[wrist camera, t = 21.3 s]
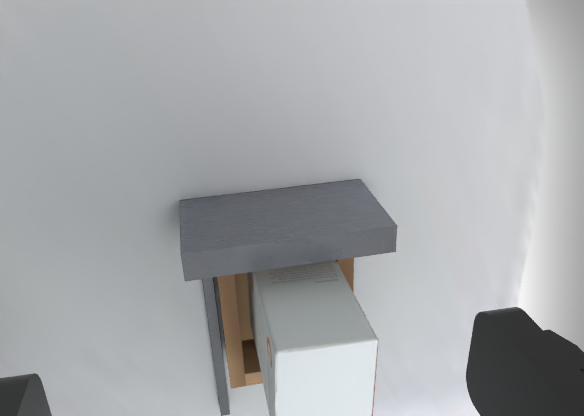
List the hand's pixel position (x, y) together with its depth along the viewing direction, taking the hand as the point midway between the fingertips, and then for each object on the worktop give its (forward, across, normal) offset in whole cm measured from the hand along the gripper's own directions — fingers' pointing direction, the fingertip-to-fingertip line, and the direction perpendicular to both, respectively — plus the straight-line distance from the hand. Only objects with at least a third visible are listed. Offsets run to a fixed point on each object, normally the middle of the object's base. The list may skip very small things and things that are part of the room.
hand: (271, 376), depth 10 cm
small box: (+29, -5, +18) cm, 35 cm away
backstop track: (+30, -5, +20) cm, 37 cm away
